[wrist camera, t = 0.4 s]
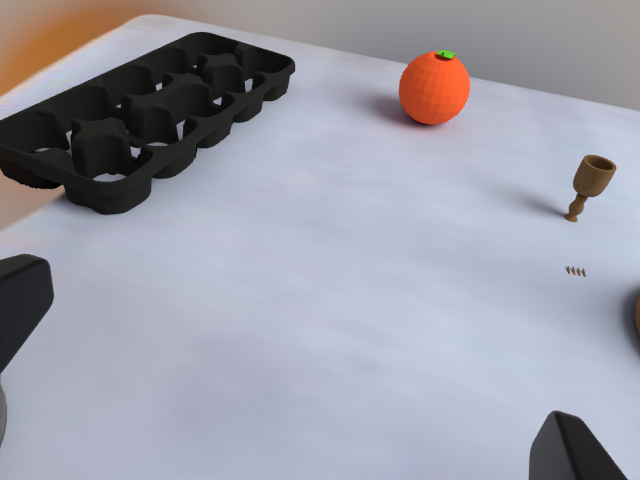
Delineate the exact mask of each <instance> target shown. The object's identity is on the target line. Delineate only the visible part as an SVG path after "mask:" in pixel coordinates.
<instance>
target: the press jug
mask: <svg viewBox="0 0 640 480" xmlns="http://www.w3.org/2000/svg"><path fill="white" fill-rule="evenodd" d="M2 372H3V371H2ZM0 381H1V374H0ZM6 422H7V404H6V399H5V394H4V391H3V389H2V386H1V384H0V447H1V444H2V441H3V438H4V434H5V428H6Z"/></svg>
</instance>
